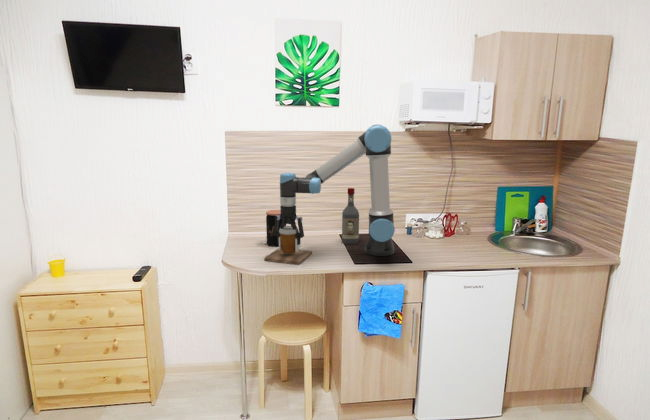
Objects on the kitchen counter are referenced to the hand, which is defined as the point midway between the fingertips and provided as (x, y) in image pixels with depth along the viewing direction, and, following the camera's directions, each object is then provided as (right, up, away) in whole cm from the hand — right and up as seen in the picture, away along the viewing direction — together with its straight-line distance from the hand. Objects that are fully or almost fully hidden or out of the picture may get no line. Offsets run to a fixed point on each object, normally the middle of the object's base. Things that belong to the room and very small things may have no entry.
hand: (288, 250), depth 216 cm
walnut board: (0, -4, +1) cm, 4 cm away
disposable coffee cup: (0, -1, 0) cm, 1 cm away
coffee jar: (-9, +1, +23) cm, 25 cm away
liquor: (+32, +2, +28) cm, 42 cm away
